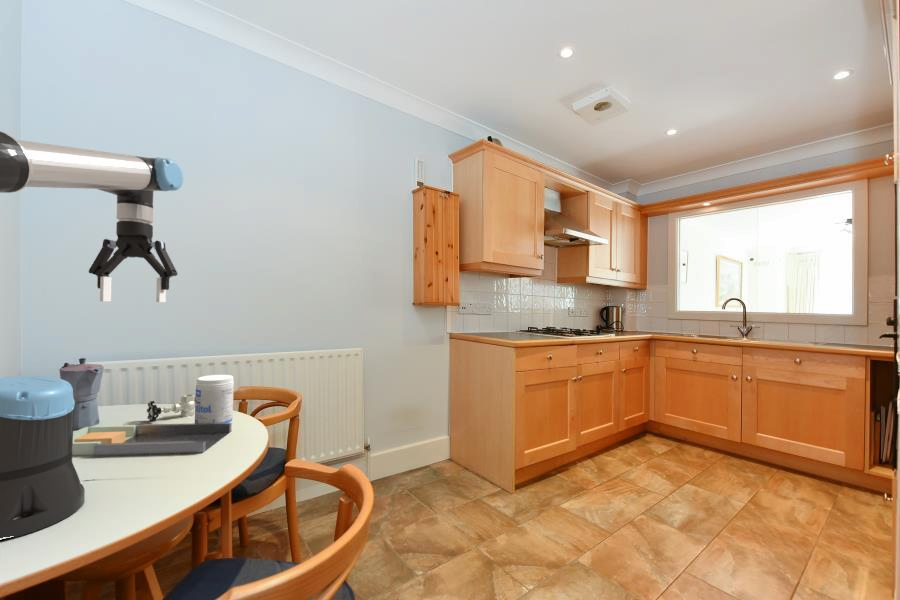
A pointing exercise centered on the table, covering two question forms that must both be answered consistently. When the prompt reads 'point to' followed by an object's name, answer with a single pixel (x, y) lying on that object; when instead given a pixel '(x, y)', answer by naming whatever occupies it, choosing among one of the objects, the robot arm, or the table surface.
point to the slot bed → (167, 440)
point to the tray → (88, 447)
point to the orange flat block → (111, 437)
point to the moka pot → (84, 391)
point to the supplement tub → (214, 399)
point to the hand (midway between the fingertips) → (133, 301)
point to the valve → (173, 408)
